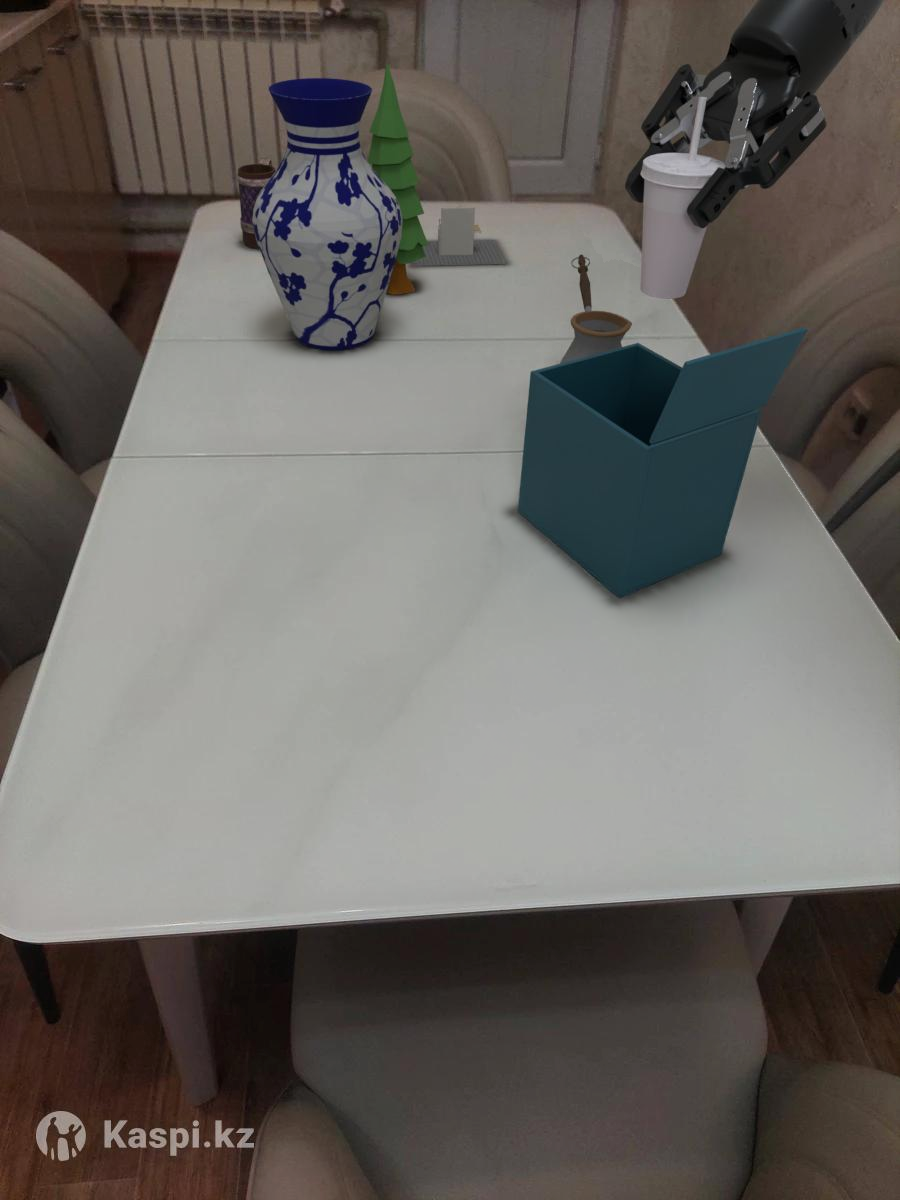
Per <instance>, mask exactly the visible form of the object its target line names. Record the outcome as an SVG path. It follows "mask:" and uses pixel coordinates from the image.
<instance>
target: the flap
mask: <svg viewBox="0 0 900 1200" xmlns="http://www.w3.org/2000/svg"><path fill="white" fill-rule="evenodd" d="M808 331H809V329H808V328H807V327H805V326H804V327H801V328H798V329H794V330H791V331H786V332H783V333H780V334H776V335H773V336H770V337H766V338H763V339H759V340H756V341H752V342H749V343H746V344H742V345H739V346H735V347H731V348H728V349H724V350H721V351H718V352H714V353H710V354H707V355H704V356H700V357H697V358H693V359H690V360H685V361H684V363H683V365H682V366H681V367H682V370H681V372H680V374H679V376H678V378H677V381H676V383H675V385H674V387H673V390H672V392H671V394H670V396H669V398H668V401H667V403H666V405H665V407H664V409H663V412H662V414H661V416H660V418H659V421H658V423H657V425H656V427H655V429H654V432H653V434H652V436H651V438H650V440H649V442H650V443H651V444H653V443H656V442H659V441H662V440H665V439H668V438H671V437H674V436H677V435H680V434H683V433H686V432H689V431H692V430H695V429H698V428H701V427H704V426H707V425H710V424H713V423H716V422H719V421H722V420H725V419H728V418H731V417H734V416H737V415H740V414H743V413H746V412H749V411H752V410H755V409H757V410H758V409H761V408H764V407H766V405H767V403H768V401H769V400H770V398H771V396H772V394H773V392H774V391H775V389H776V388H777V386H778V384H779V383H780V380H781V378H782V377H783V375H784V373H785V372H786V370H787V368H788V366H789V364H790V362H791V361H792V359H793V358H794V356H795V354H796V353H797V350H798V349H799V346H800V345H801V343H802V341H803V340H804V337H805V336H806V334H807V333H808Z"/></svg>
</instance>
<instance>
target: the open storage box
mask: <svg viewBox="0 0 900 1200" xmlns="http://www.w3.org/2000/svg"><path fill="white" fill-rule="evenodd" d="M682 367H683V366H680V365H678V364H677V363H675V362H673V361H672V360H669V359H668V358H666V357H664V356H663V355H661V354H659V353H657V352H655V351H653V350H652V349H650V348H648V347H647V346H644V345H643V344H641V343H640V342H636V343H632V344H628V345H625V346H622V347H621V348H617V349H613V350H609V351H606V352H602V353H598V354H594V355H591V356H587V357H583V358H579V359H576V360H572V361H568V362H564V363H561V364H560V363H557V364H554V365H550V366H546V367H543V368H538V369H535V370H531V371H530V373H529V374H530V375H529V386H528V396H527V405H526V406H527V407H526V416H525V417H526V418H525V428H524V437H523V438H524V439H523V449H522V458H521V459H522V461H521V470H520V471H521V472H520V473H521V474H520V483H519V493H518V503H517V512H518V513H519V514H520V515H521V516H522V517H524V518H525V520H527V521H528V522H529V523H531V524H532V525H533V526H534V527H535V528H536V529H538V530H539V531H540V532H541V533H542V534H543V535H544V536H546V537H547V538H548V539H549V540H550V541H552V542H553V543H554V544H555V545H556V546H558V547H559V548H560V549H561V550H562V551H564V553H566V554H567V555H568V556H569V557H570V558H572V560H574V561H575V562H576V563H577V564H578V565H580V566H581V567H582V568H583V569H584V570H586V572H588V573H589V574H590V575H591V576H592V577H594V578H595V579H596V580H597V581H598V582H599V583H601V584H602V585H603V586H604V587H605V588H606V589H608V590H609V592H611V593H613V594H614V595H615V597H617V598H619V599H621V598H623V597H626V596H627V595H629V594H632V593H635V592H637V591H639V590H641V589H643V588H646V587H648V586H651V585H654V584H655V583H658V582H660V581H662V580H665V579H668V578H670V577H672V576H674V575H677V574H679V573H682V572H684V571H686V570H688V569H691V568H693V567H696V566H698V565H701V564H703V563H705V562H708V561H710V560H712V559H715V558H717V557H720V556H721V555H722V553H723V549H724V547H725V542H726V540H727V535H728V532H729V529H730V525H731V521H732V518H733V515H734V510H735V507H736V504H737V499H738V496H739V494H740V489H741V485H742V482H743V480H744V479H743V478H744V475H745V472H746V468H747V465H748V461H749V458H750V455H751V450H752V447H753V443H754V440H755V436H756V432H757V430H758V426H759V422H760V418H761V415H762V411H761V410H758V409H755V410H752V411H749V412H746V413H743V414H740V415H737V416H734V417H731V418H728V419H725V420H722V421H719V422H716V423H713V424H710V425H707V426H704V427H701V428H698V429H695V430H692V431H689V432H686V433H683V434H680V435H677V436H674V437H671V438H668V439H665V440H662V441H659V442H656V443H653V444H651V443H650V442H649V440H650V438H651V436H652V434H653V432H654V429H655V427H656V425H657V423H658V421H659V418H660V416H661V414H662V412H663V409H664V407H665V405H666V403H667V401H668V398H669V396H670V394H671V392H672V390H673V387H674V385H675V383H676V381H677V378H678V376H679V374H680V372H681V370H682Z"/></svg>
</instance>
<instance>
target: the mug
mask: <svg viewBox="0 0 900 1200" xmlns="http://www.w3.org/2000/svg"><path fill="white" fill-rule="evenodd" d="M275 171H276V168H275V167H274V166H273V161H272V159H270V158H268V157H261V158H260V160H259V163H249V164H244V165H242V166H240V167H238V168H237V183H238V193H239V206H240V207H239V208H240V218H239V220H240V221H239V222H240V229H241V231H242V232H241V233H242V234H241V235H242V242H243V244H244V245H246V246H247V247H249V248H251V249H256V250H257V249H258V250H260V249H259V246H258V243H257V241H256V238H255V232H254V227H253V221H252V219H253V210H254V206H255V202H256V199H257V197H258V195H259V193H260V192H261V190H262V189H263V187H264V186H265V185H266V183H267V182H268V181H269V180H270V178H271V177H272V175H273V174H274V173H275Z"/></svg>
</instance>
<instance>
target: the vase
mask: <svg viewBox="0 0 900 1200" xmlns="http://www.w3.org/2000/svg"><path fill="white" fill-rule="evenodd" d="M268 91H269V94H270V96H271V98H272V99H273V101H274V103H275V106H277V109H278V111H279V112H280V114H281V117H282V119H283V122H284V124H285V128H286V135H287V136H286V138H287V144H286V150H285V153H284V155H283V158H282V160H281V161H280V163H279V165H278V167H277V169H275V173H274V174H273V175H272V177H271V178H270V180H269V181H268V182H267V183H266V185H265V186H264V187H263V189H262V190H261V192H260V193H259V195H258V197H257V199H256V202H255V206H254V210H253V219H252V221H253V227H254V232H255V238H256V241H257V243H258V246H259V249H258V250H259V251H260V254H261V257H262V260H263V262H264V265H265V268H266V270H267V273H268V275H269V277H270V280H271V283H272V284H273V287H274V289H275V291H276V294H277V296H278V298H279V301H280V303H281V305H282V308H283V309H284V312H285V315H286V316H287V319H288V322H289V324H290V326H291V328H292V331H293V334H294V336H295V338H296V340H297V341H298V342H299V343H301V344H302V345H304V346H305V347H306V346H307V347H310V348H312V349H317V350H324V351H342V350H343V351H344V350H350V349H354V348H359V347H361V346H363V345H366V344H368V343H369V342H370V341H371V340H372V339H373V338H374V335H375V332H376V327H377V324H378V321H379V318H380V315H381V311H382V308H383V304H384V302H385V299H386V296H387V293H386V292H387V289H388V286H389V282H390V279H391V276H392V272H393V269H394V265H395V261H396V257H397V253H398V249H399V245H400V241H401V236H402V221H403V220H402V215H401V210H400V206H399V203H398V201H397V199H396V197H395V195H394V194H393V193H392V191H391V190H390V189H389V187H388V186H387V185H386V184H385V183H384V182H383V180H382V179H381V178H380V177H379V176H378V175H377V173H376V172H375V171H374V170H373V169H372V165H371V164H369V163H368V159H367V158H366V155H365V154H364V152H363V149H362V146H361V143H360V126H361V124H360V123H361V120H362V117H363V114H364V112H365V110H366V106H367V104H368V102H369V100H370V97H371V95H372V92H373V87H371V86H370V85H368V84H366V83H363V82H360V81H356V80H350V79H341V78H330V77H329V78H328V77H310V78H309V77H307V78H296V79H295V78H294V79H288V80H287V79H286V80H282V81H278V82H275V83H273V84H270V86H268Z"/></svg>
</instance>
